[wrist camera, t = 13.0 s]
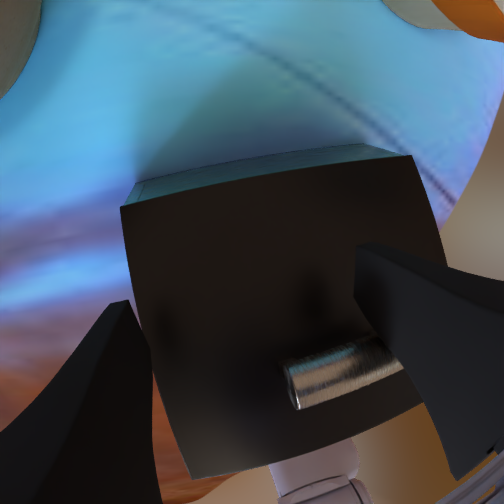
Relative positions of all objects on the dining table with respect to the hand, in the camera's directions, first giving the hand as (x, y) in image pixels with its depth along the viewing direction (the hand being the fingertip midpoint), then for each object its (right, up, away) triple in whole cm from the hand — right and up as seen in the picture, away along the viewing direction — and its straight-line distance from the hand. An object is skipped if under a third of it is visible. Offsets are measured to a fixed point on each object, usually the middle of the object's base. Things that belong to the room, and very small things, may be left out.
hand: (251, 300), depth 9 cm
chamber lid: (+3, -1, +3) cm, 5 cm away
